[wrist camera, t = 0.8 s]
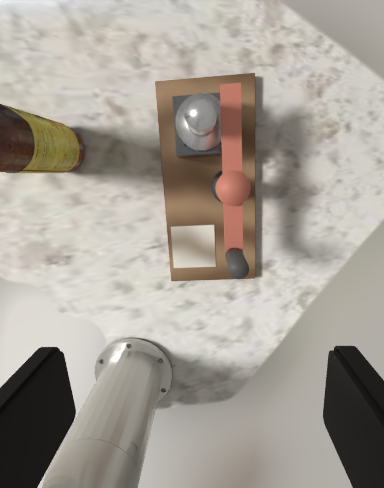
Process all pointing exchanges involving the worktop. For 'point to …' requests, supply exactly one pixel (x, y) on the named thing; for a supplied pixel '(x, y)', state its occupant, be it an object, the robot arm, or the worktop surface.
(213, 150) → the block
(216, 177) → the pivot post
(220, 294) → the worktop surface
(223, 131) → the lever
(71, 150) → the sauce bottle
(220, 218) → the board
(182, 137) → the peg
